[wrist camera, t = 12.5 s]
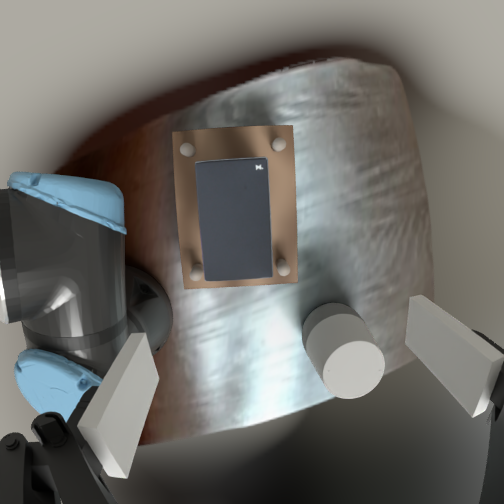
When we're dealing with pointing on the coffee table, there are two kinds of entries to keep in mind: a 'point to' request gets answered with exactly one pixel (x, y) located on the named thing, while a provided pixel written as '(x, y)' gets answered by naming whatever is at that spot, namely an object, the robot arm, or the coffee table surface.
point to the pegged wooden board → (281, 195)
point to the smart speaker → (342, 350)
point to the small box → (235, 218)
